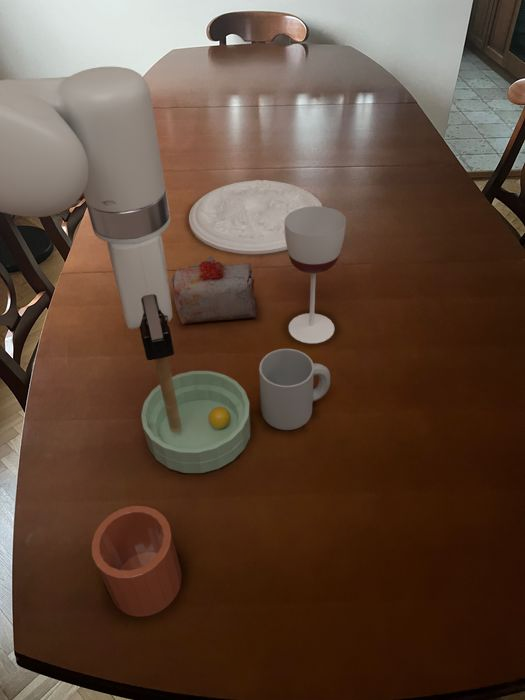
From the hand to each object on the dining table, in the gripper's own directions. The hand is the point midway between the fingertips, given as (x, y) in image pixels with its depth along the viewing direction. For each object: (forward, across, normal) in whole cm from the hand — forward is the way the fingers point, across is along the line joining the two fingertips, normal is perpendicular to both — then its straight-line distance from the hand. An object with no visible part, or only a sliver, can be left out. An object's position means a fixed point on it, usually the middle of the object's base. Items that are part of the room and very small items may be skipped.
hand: (158, 349), depth 69 cm
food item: (+17, -25, +11) cm, 32 cm away
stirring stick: (+15, 0, 0) cm, 15 cm away
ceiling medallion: (+17, -53, +26) cm, 62 cm away
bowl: (+17, 0, +3) cm, 17 cm away
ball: (+15, 0, +6) cm, 16 cm away
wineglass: (+17, -16, +25) cm, 34 cm away
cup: (+17, 0, +17) cm, 24 cm away
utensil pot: (+17, +19, -7) cm, 26 cm away
